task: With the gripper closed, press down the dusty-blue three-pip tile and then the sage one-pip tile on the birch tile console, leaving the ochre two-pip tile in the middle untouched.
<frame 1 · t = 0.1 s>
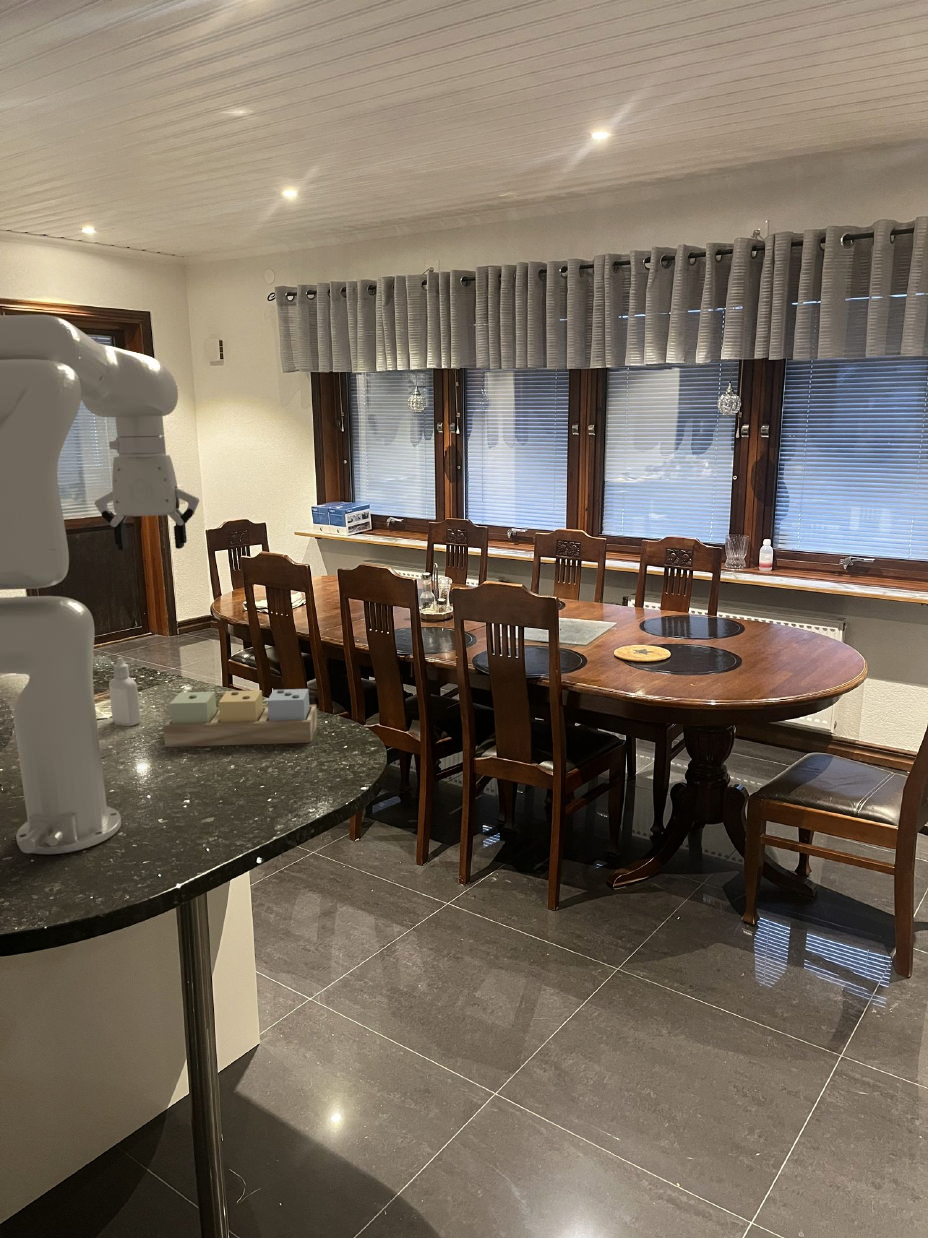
hand: (151, 548, 154), 31 cm above the kitchen counter, fingers open, 9 cm apart
eye dropper bottle: (127, 723, 160), on the kitchen counter
tile two ochre: (241, 705, 151), point 5 cm above the kitchen counter, slide at 0.0 cm
tile three blue: (288, 704, 151), point 5 cm above the kitchen counter, slide at 0.0 cm
tile one sage: (193, 707, 151), point 5 cm above the kitchen counter, slide at 0.0 cm
tile console: (243, 735, 152), on the kitchen counter
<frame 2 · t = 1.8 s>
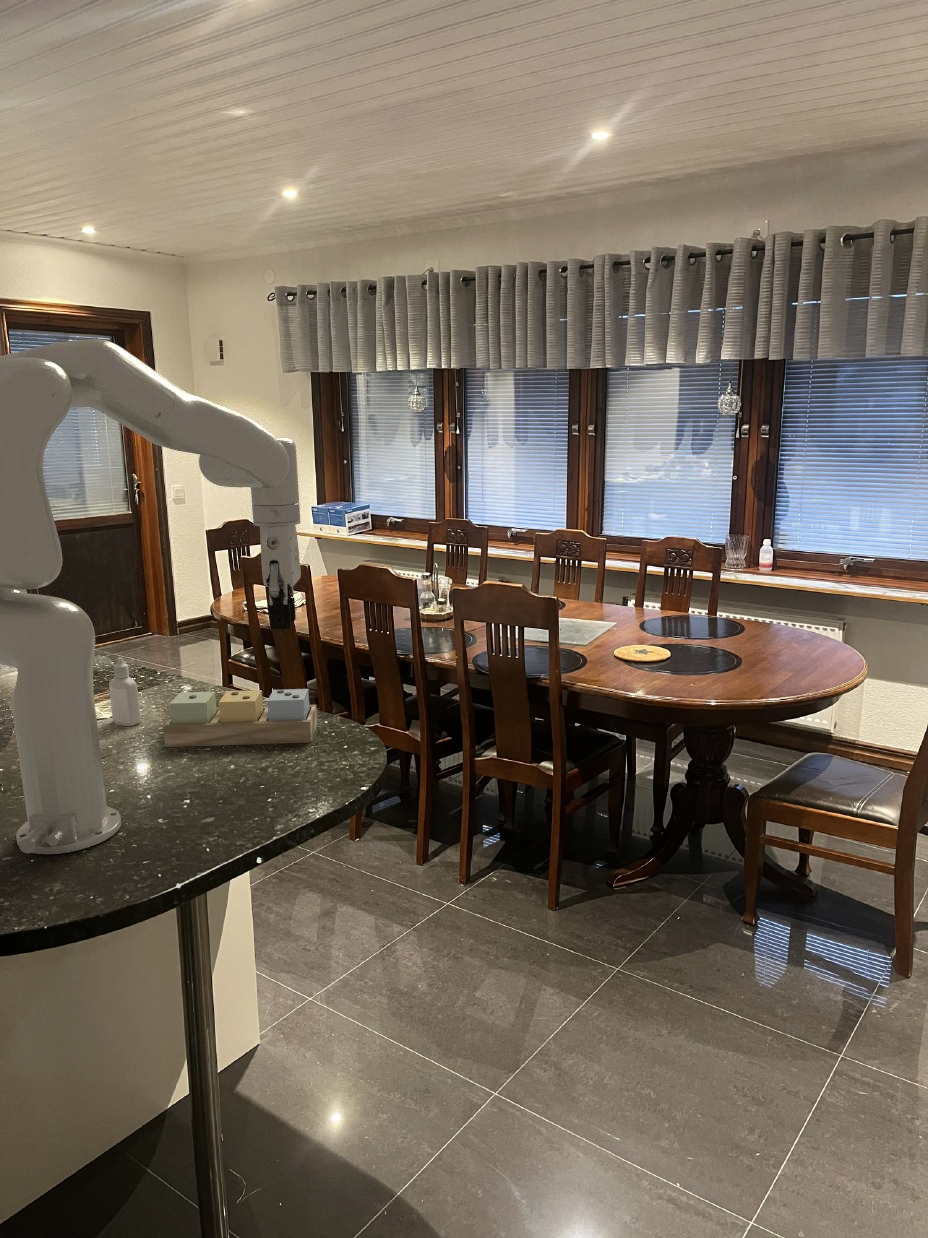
hand: (283, 623, 148), 19 cm above the kitchen counter, fingers open, 4 cm apart
nothing on the kitchen counter moved.
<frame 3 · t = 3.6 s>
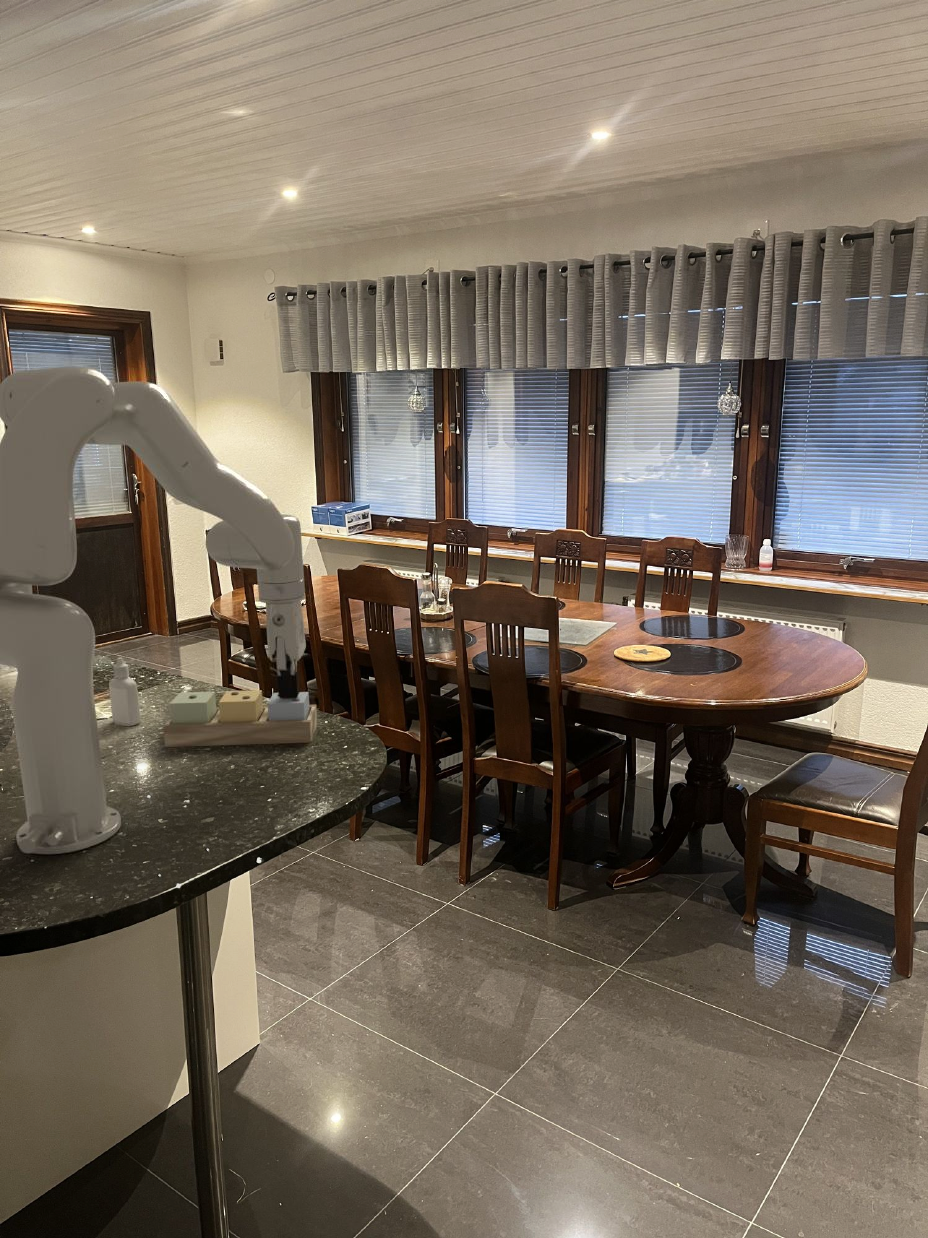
hand: (289, 696, 151), 7 cm above the kitchen counter, fingers closed
tile three blue: (289, 707, 151), point 5 cm above the kitchen counter, slide at -0.6 cm, touching gripper
everything else where it was.
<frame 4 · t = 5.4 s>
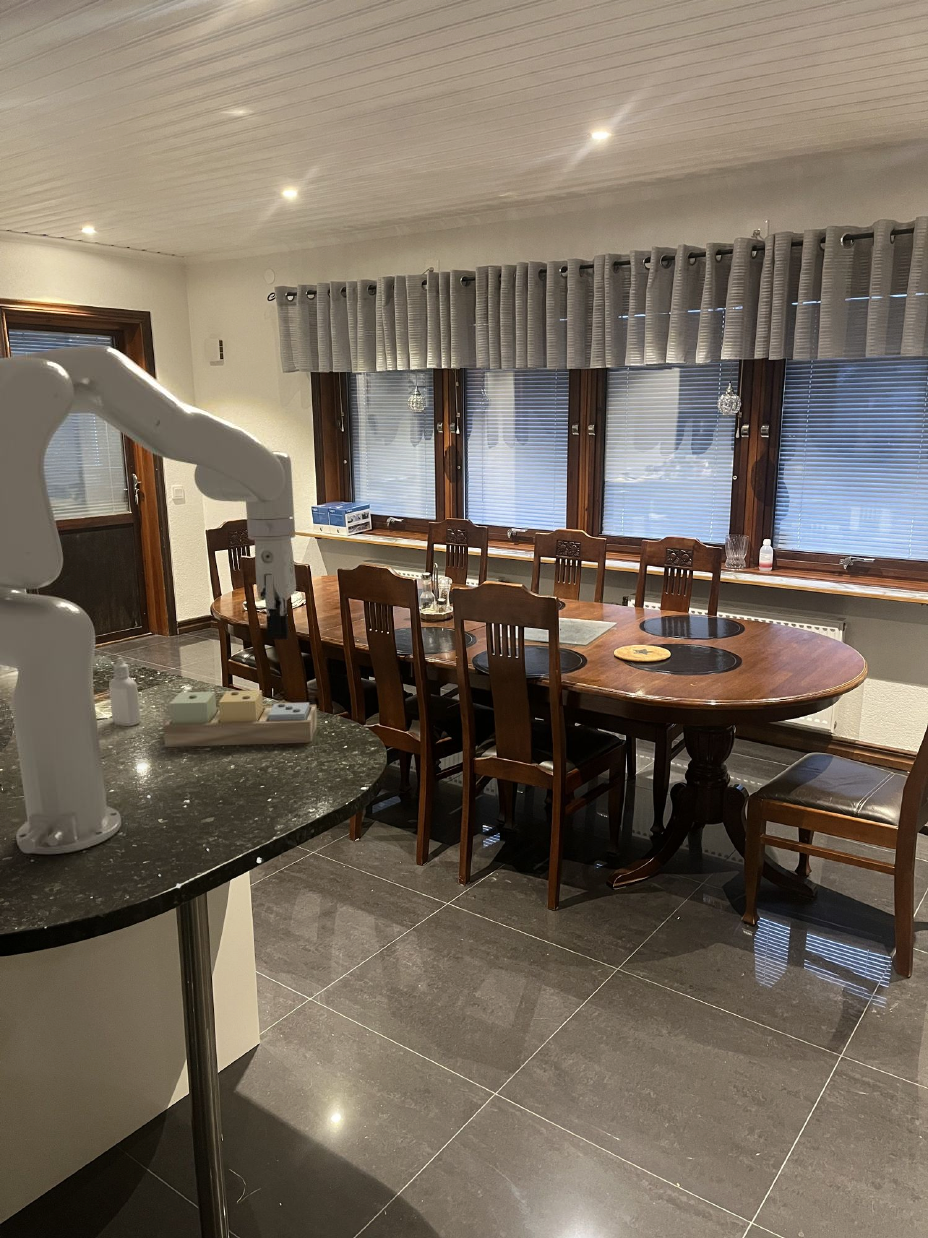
hand: (278, 638, 149), 17 cm above the kitchen counter, fingers closed
tile three blue: (289, 718, 152), point 3 cm above the kitchen counter, slide at -2.5 cm
everything else where it was.
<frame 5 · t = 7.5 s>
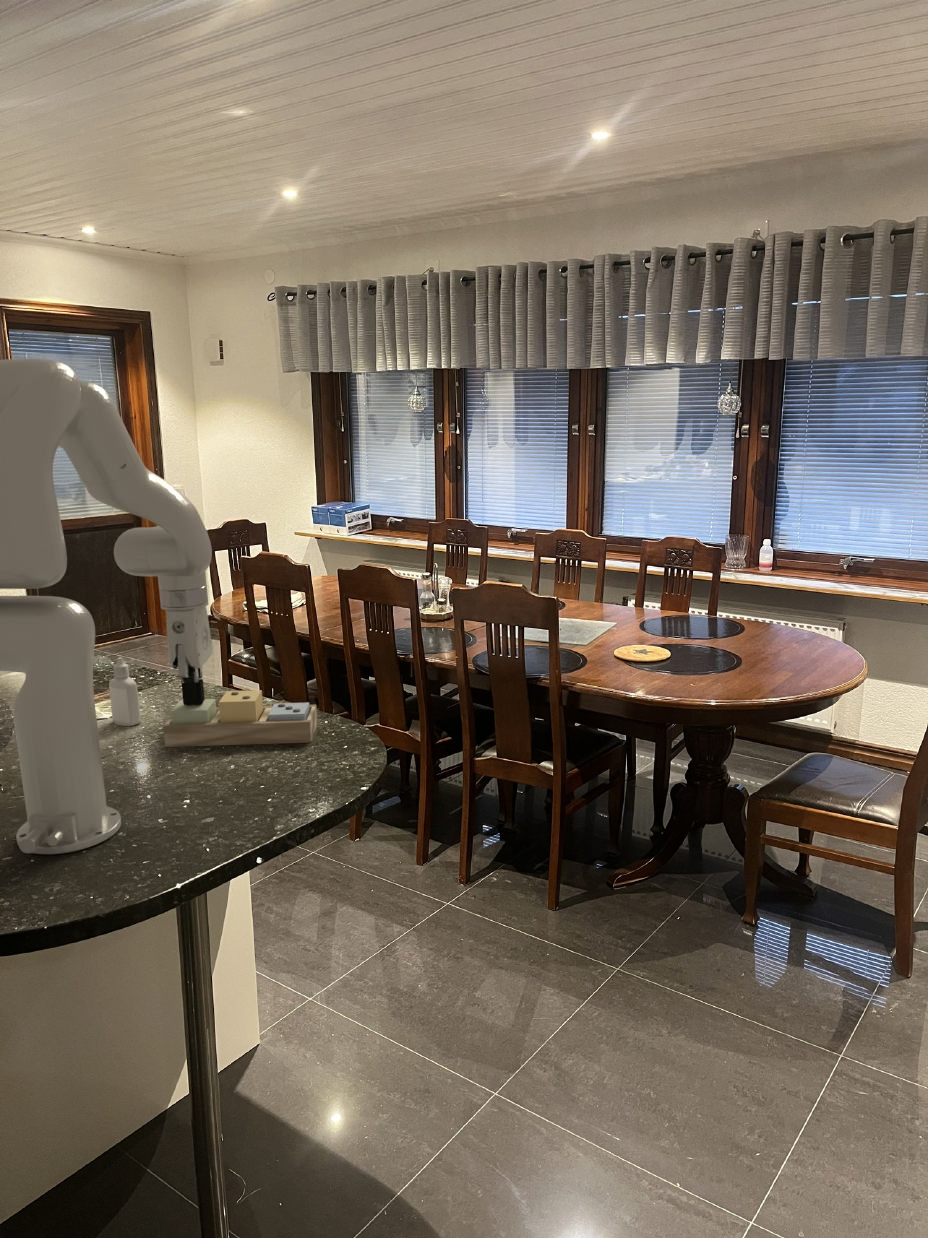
hand: (194, 703, 151), 6 cm above the kitchen counter, fingers closed
tile one sage: (194, 714, 151), point 4 cm above the kitchen counter, slide at -1.3 cm, touching gripper
everything else where it was.
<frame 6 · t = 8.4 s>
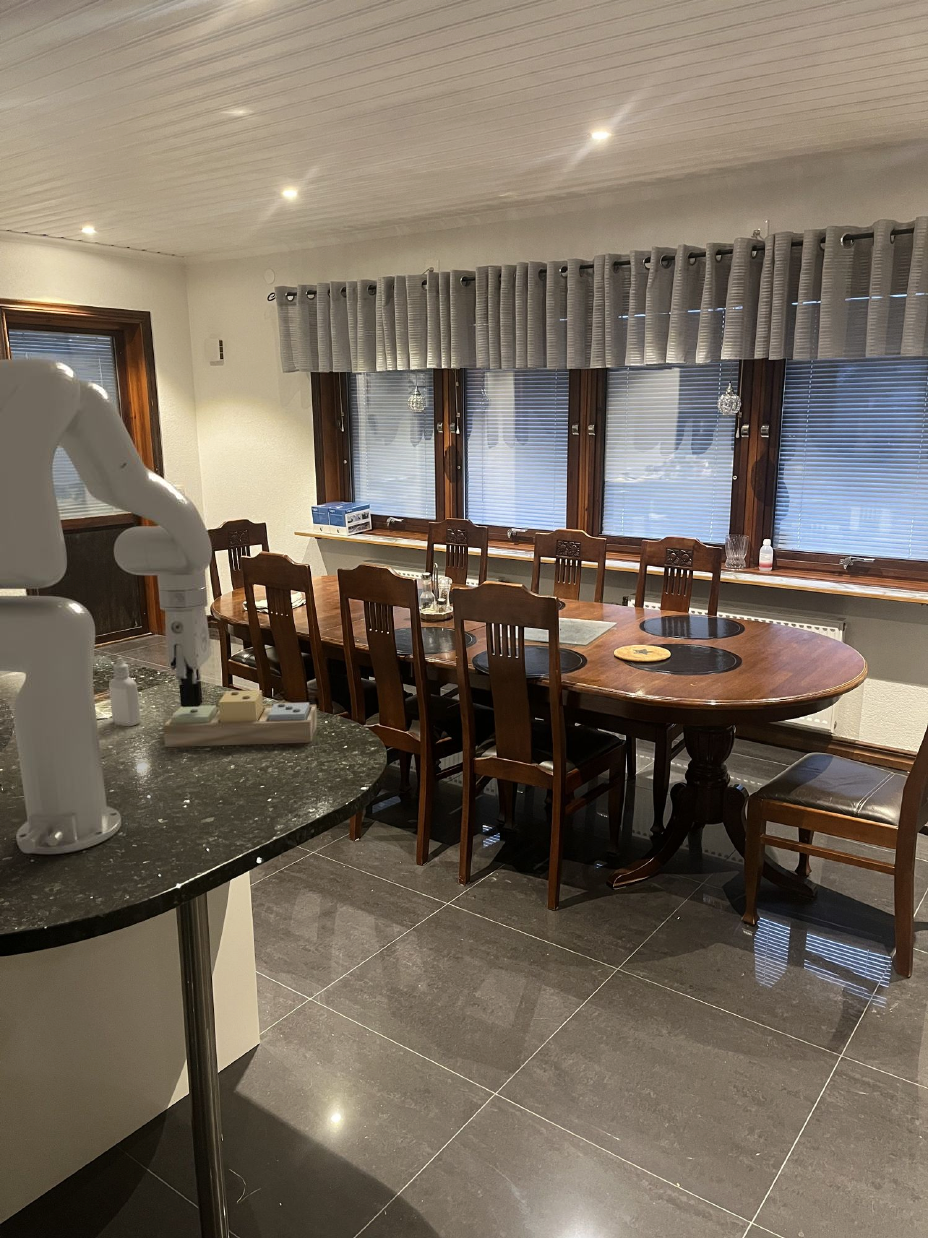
hand: (191, 705, 150), 6 cm above the kitchen counter, fingers closed
tile one sage: (195, 721, 151), point 3 cm above the kitchen counter, slide at -2.5 cm
everything else where it was.
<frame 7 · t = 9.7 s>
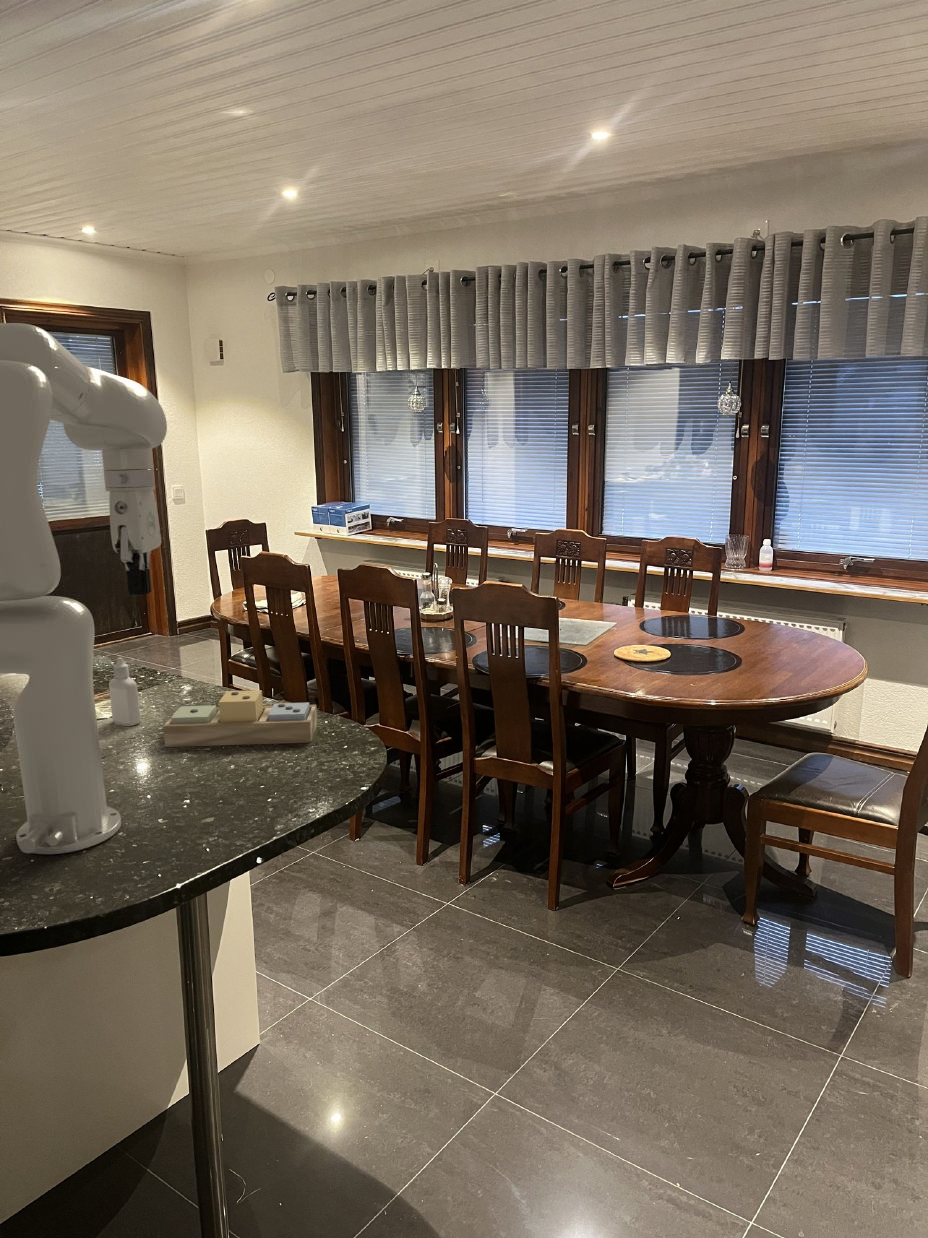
hand: (140, 593, 147), 25 cm above the kitchen counter, fingers closed
nothing on the kitchen counter moved.
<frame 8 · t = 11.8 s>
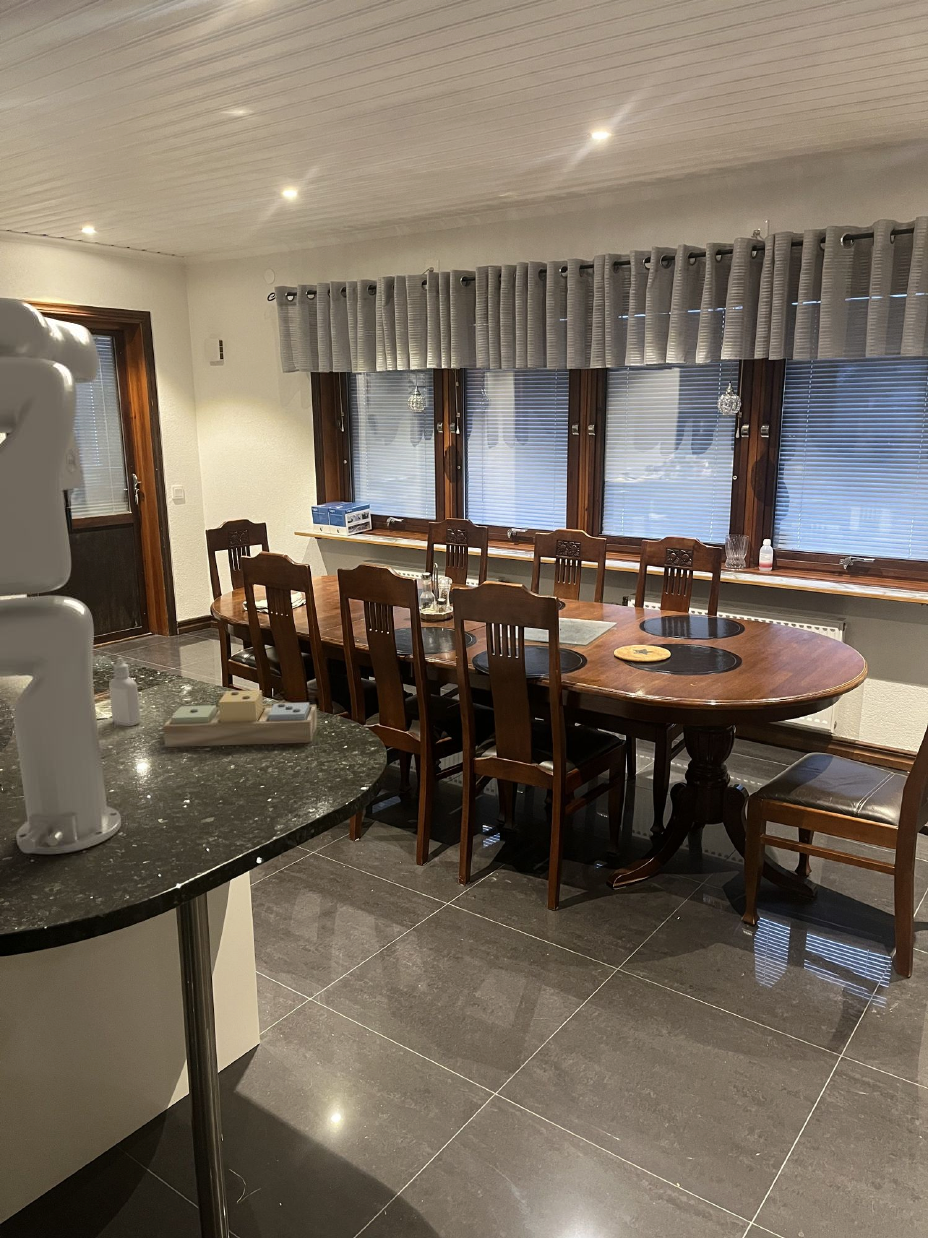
hand: (61, 532, 146), 35 cm above the kitchen counter, fingers closed
nothing on the kitchen counter moved.
at the end: tile three blue slide at -2.5 cm; tile one sage slide at -2.5 cm; tile two ochre slide at 0.0 cm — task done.
